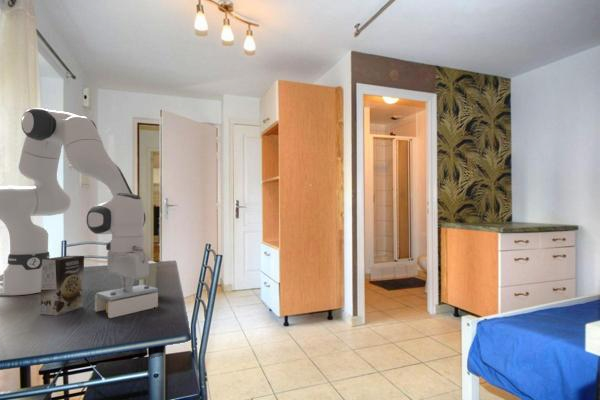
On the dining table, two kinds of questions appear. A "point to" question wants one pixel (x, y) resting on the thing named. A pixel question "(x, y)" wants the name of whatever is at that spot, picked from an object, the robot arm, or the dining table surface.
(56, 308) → the coffee box
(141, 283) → the skincare box
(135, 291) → the lid
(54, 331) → the dining table surface
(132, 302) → the open tray
